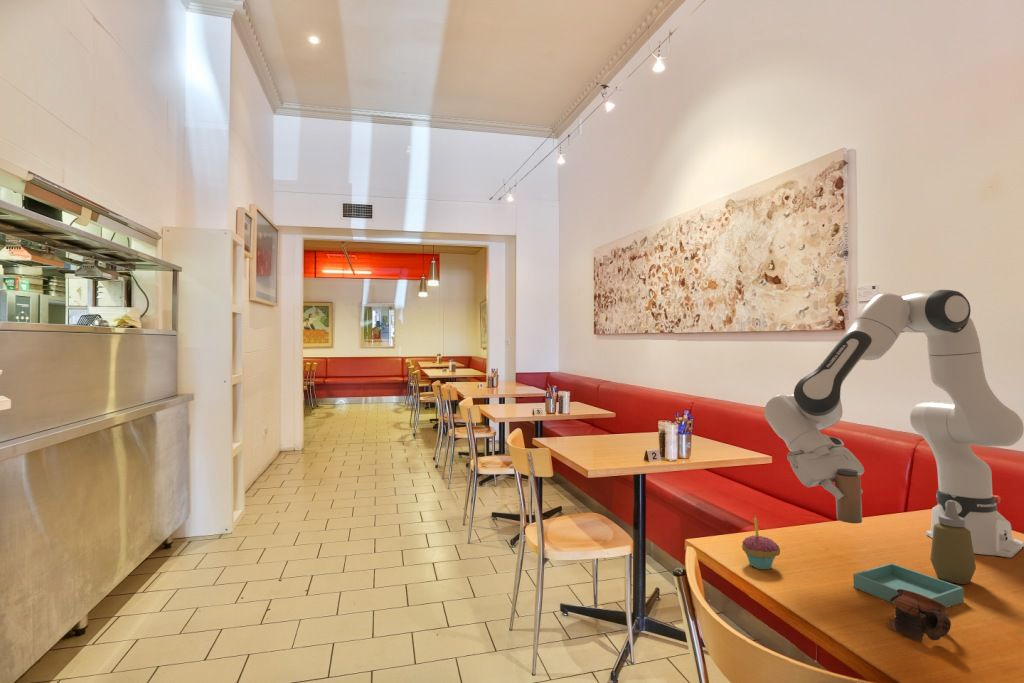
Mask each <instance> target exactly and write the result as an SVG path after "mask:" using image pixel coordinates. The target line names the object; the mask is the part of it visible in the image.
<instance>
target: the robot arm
mask: <svg viewBox="0 0 1024 683" xmlns="http://www.w3.org/2000/svg"><path fill="white" fill-rule="evenodd" d="M971 312H972V311H971V305H970V302H969V300H968V298H966V296H965V295H964V294H963V293H961V292H960V291H958V290H953V289H939V290H924V291H916V292H914V293H909V294H904V295H898V294H895V293H891V292H890V293H887V292H883V293H880V294H877V295H875V296H873V298H871V299H870V300H869V301H868V302H867V303H866V304H865V305H864V306H863V307H862V309H860V311H859V312H858V313H857V314H856V315H855V317H854V318H853V319H852V322H850V323H849V326H847V329H846V330H845V331H844V334H843V336H842V337H841V339H840V340H839V341H838V342H837V343H836V345H835V346H834V347H833V348H832V350H831V351H830V353H828V355H827V356H826V357H825V359H824V360H823V361H822V362H821V364H820V365H819V366H818V367H817V368H816V369H815V370H813V371H812V372H810V373H809V374H807V375H806V376H804V377H803V378H800V380H799V381H798V382H797V384H795V387H794V388H793V389H794V390H793V394H783V393H781V394H777V395H774V396H773V397H771V399H770V400H769V401H768V402H767V403H766V405H765V407H764V410H763V414H764V418H765V420H766V422H768V425H769V426H770V427H771V429H772V430H773V432H774V433H775V434H776V435H777V436H778V437H779V438H780V439H782V440H783V441H784V443H785V444H786V445H785V446H786V447H787V448H788V450H789V451H788V453H787V454H786V456H787V457H786V459H787V461H788V462H789V463H790V464H789V465H790V467H791V470H792V471H793V472H794V474H795V476H796V477H797V479H798V480H799V481H800V483H801V484H802V485H803V486H804V487H806V488H811V487H817V486H821V487H822V488H823V489H824V490H825V491H827V492H828V493H830V494H832V495H833V497H835V500H836V499H843V498H844V497H845V496H846V495H845V493H844V492H843V491H842V490H841V489H838V488H837V487H835V477H836V475H835V474H837V469H853V470H857V471H858V474H859V475H860V476H862V475H863V474H864V473H865V468H864V466H863V464H862V463H861V462H860V460H859V459H858V457H856V455H854V454H853V453H852V452H851V451H850V450H849V449H848V448H847V447H845V443H844V441H842V439H840V438H839V437H838V438H837V437H834V436H830V435H827V434H824V433H821V431H823V430H825V429H828V428H830V427H832V426H835V425H836V424H837V423H838V422H839V421H840V420H841V419H842V415H843V405H842V404H843V403H842V400H841V389H842V385H843V383H844V381H845V380H846V378H847V377H848V376H849V374H850V373H851V372H853V370H854V368H855V367H856V365H858V363H859V362H861V360H862V361H874V360H879V359H881V358H882V357H883V356H884V355H885V354H886V353H887V352H888V351H889V350H890V349H891V348H892V346H893V345H894V344H895V342H896V341H897V340H898V338H899V337H900V335H901V333H924V334H925V336H926V337H927V338H926V339H927V340H926V341H927V354H928V355H927V356H928V364H929V365H928V366H929V372H930V380H931V382H932V383H933V384H934V385H935V387H938V388H940V389H941V390H943V391H945V392H946V393H947V395H948V396H949V397H950V398H951V400H952V401H946V400H944V401H943V400H931V401H924V402H922V401H921V402H919V403H917V404H916V405H914V406H913V408H912V409H911V411H910V413H909V420H910V425H911V426H912V428H913V430H914V431H915V432H916V433H918V434H919V435H920V437H922V438H923V439H924V440H925V441H926V443H927V444H928V446H929V448H930V450H931V452H932V454H933V457H934V459H935V463H936V469H937V482H938V483H937V484H938V489H936V494H935V496H936V502H937V504H936V505H935V506H934V507H932V510H931V521H930V522H931V524H930V530H926V532H925V535H926V536H928V537H930V538H931V539H932V538H933V528H934V525H935V524H937V523H939V518H938V516H939V515H940V514H944V513H945V509H946V506H947V502H948V501H953V502H954V503H955V506H956V510H957V513H958V516H959V517H962V518H964V519H965V526H964V527H965V528H967V529H968V530H969V531H970V533H971V539H972V546H973V552H974V555H975V554H976V555H986V556H997V557H998V556H999V557H1003V558H1013V557H1014V556H1015V555H1016V554H1018V552H1019V551H1021V549H1023V548H1024V541H1022V540H1019V539H1017V538H1014V537H1013V535H1012V534H1013V533H1012V532H1013V531H1012V524H1011V523H1010V521H1009V520H1007V519H1006V518H1005V517H1004V516H1003V515H1002V514H1001V513H1000V512H999V511H997V510H998V506H997V504H1000V503H1001V500H1002V499H1001V496H1000V495H994V494H993V479H992V478H993V475H992V473H993V472H992V469H991V467H990V465H989V463H987V462H986V461H984V460H983V459H981V458H980V457H978V456H977V455H976V453H975V452H974V451H973V448H972V447H971V446H970V445H975V446H983V447H988V448H990V447H1010V446H1013V445H1015V444H1016V443H1018V442H1019V441H1020V440H1021V438H1022V437H1023V435H1024V423H1023V420H1022V419H1021V417H1020V416H1019V414H1018V413H1017V412H1016V411H1014V410H1012V409H1011V408H1009V407H1008V406H1006V405H1005V403H1003V402H1002V401H1001V400H1000V399H999V398H998V397H997V396H996V395H995V394H994V392H993V390H992V389H991V387H990V386H989V383H988V381H987V378H986V375H985V374H986V373H985V370H984V364H983V356H982V349H981V344H980V343H981V342H980V339H979V335H978V332H977V329H976V326H975V324H974V320H972V318H971ZM863 493H864V490H863V489H862V488H861V495H862V494H863ZM1022 547H1023V548H1022Z"/></svg>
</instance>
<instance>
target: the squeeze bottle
mask: <svg viewBox="0 0 1024 683" xmlns="http://www.w3.org/2000/svg"><path fill="white" fill-rule="evenodd" d="M938 518H939V523H937V524H935V525H934V528H933V538H931V539H932V540H931V548H930V562H931V565H932V568H933V569H934V571H935V572H934V573H935V575H936V576H937V577H938V579H939V578H940V580H942V581H945V582H948V583H952V584H953V583H955V584H960V585H961V584H962V585H967V584H970V583H971V580H972V578H973V577H974V574H975V572H976V569H977V566H976V565H977V564H976V560H975V558H976V557H975V553H974V552H973V546H972V539H971V533H970V531H969V530H968V529H967V528H965V527H964V526H965V519H964V518H962V517H959V516H958V513H957V510H956V506H955V503H954V502H953V501H948V502H947V506H946V509H945V513H944V514H940V515H939V516H938Z"/></svg>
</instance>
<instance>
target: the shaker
mask: <svg viewBox="0 0 1024 683" xmlns="http://www.w3.org/2000/svg"><path fill="white" fill-rule="evenodd" d="M835 475H836V477H835V482H834V486H835V487H837V488H838V489H841V490H842V491H843V492H844V493H845V495H846V496H845V497H844V498H843V499H836V498H835V506H836V508H835V511H836V513H835V514H836V520H837V521H839V522H841V523H842V522H843V523H846V524H847V523H848V524H861V523H863V510H862V509H863V506H862V494H861V489H862V480H861V475H859V474H858V471H857V470H853V469H837V474H835Z"/></svg>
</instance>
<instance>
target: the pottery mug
mask: <svg viewBox="0 0 1024 683" xmlns="http://www.w3.org/2000/svg"><path fill="white" fill-rule="evenodd" d="M897 592H898V595H895V596H894V597H892V598H891V599H890V601H891V602H892V601H893V600H894V603H893V605H894V608H895V609H894V611H895V612H894V615H895V617H892V616H888V618H887V620H888V621H887V622H888V629H889V630H891V631H894V632H897V633H898V634H899V633H900V634H901V635H902V636H905V637H907V638H910V639H911V640H914V641H916V642H919V643H922V642H923V638H924V635H926V636H927V637H928V638H929V640H931V641H939V640H940V639H941V638H942V637H945V636H946V635H947V634H948V633H949V632H950V630H951V626H952V625H951V624H952V622H951V619H950V618H949V616H948V615H947V614H946V610H948V608H946V607H945V606H944V605H942V604H941V603H939V602H937V601H935V600H933V599H931V598H928V597H926V596H923V595H921V594H918V593H914V592H911V591H907V590H903V589H898V590H897ZM891 602H890V603H891ZM920 613H921V614H923V615H925V616H923V615H921V614H920Z"/></svg>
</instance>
